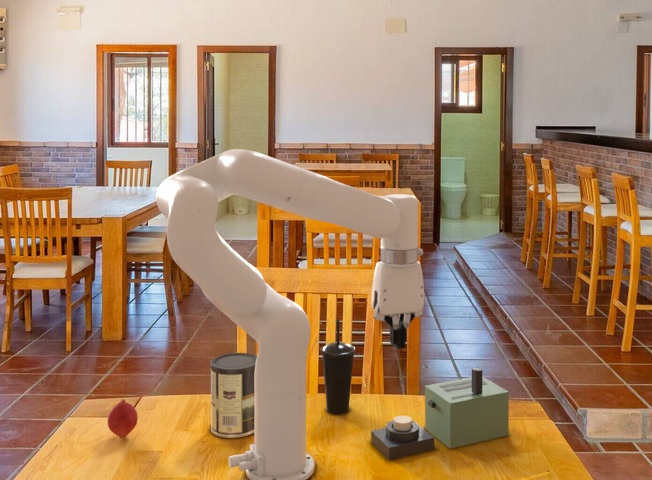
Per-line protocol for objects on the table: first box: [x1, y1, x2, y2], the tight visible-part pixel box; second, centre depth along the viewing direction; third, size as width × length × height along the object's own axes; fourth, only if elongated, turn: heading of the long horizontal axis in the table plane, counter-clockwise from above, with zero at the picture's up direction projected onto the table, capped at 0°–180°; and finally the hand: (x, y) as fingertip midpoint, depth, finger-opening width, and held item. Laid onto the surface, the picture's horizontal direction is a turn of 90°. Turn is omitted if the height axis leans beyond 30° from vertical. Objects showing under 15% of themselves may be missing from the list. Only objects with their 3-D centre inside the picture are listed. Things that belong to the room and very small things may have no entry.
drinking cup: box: [320, 319, 356, 415], centre depth 157 cm, size 8×8×20 cm
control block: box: [370, 419, 435, 461], centre depth 140 cm, size 10×8×4 cm
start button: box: [392, 415, 413, 431], centre depth 140 cm, size 4×4×2 cm
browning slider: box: [471, 367, 483, 394], centre depth 144 cm, size 2×2×5 cm
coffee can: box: [209, 352, 257, 439], centre depth 148 cm, size 10×10×14 cm
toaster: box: [424, 375, 510, 449], centre depth 146 cm, size 15×10×9 cm
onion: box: [107, 398, 139, 439], centre depth 144 cm, size 6×6×8 cm
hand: (398, 346), depth 143 cm, fingers closed
